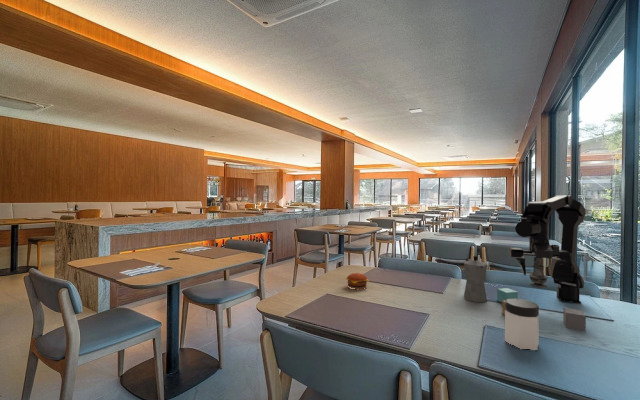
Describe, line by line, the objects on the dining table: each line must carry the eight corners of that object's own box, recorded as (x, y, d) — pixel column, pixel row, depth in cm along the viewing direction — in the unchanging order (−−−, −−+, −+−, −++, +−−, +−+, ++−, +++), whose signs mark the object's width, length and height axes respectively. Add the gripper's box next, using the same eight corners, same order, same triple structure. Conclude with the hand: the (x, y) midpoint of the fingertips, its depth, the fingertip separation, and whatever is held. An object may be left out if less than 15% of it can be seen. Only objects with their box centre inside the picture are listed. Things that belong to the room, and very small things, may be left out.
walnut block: (516, 314, 110) (516, 300, 110) (524, 320, 105) (524, 305, 105) (502, 313, 111) (502, 300, 111) (509, 319, 106) (509, 305, 106)
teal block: (508, 300, 125) (508, 288, 125) (517, 304, 120) (517, 291, 120) (497, 300, 125) (497, 288, 124) (506, 304, 120) (506, 292, 119)
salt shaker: (551, 288, 110) (552, 255, 110) (534, 287, 111) (534, 255, 110) (541, 283, 116) (541, 252, 116) (525, 283, 117) (525, 252, 116)
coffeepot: (494, 304, 120) (494, 259, 120) (470, 304, 120) (470, 259, 120) (477, 292, 135) (477, 252, 135) (455, 291, 136) (455, 252, 136)
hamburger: (343, 286, 145) (343, 272, 145) (360, 283, 149) (360, 270, 149) (354, 291, 136) (354, 277, 136) (371, 288, 141) (371, 274, 141)
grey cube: (582, 325, 100) (582, 310, 100) (585, 331, 96) (585, 315, 96) (563, 322, 103) (563, 307, 103) (565, 327, 99) (565, 312, 99)
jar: (507, 334, 94) (507, 296, 94) (539, 342, 89) (540, 301, 89) (502, 344, 88) (502, 304, 87) (537, 354, 82) (537, 310, 82)
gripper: (514, 236, 109) (514, 279, 109) (578, 239, 102) (578, 285, 102) (508, 233, 119) (507, 272, 120) (566, 235, 112) (565, 276, 113)
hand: (538, 276), depth 113 cm, fingers closed on salt shaker, 8 cm apart
